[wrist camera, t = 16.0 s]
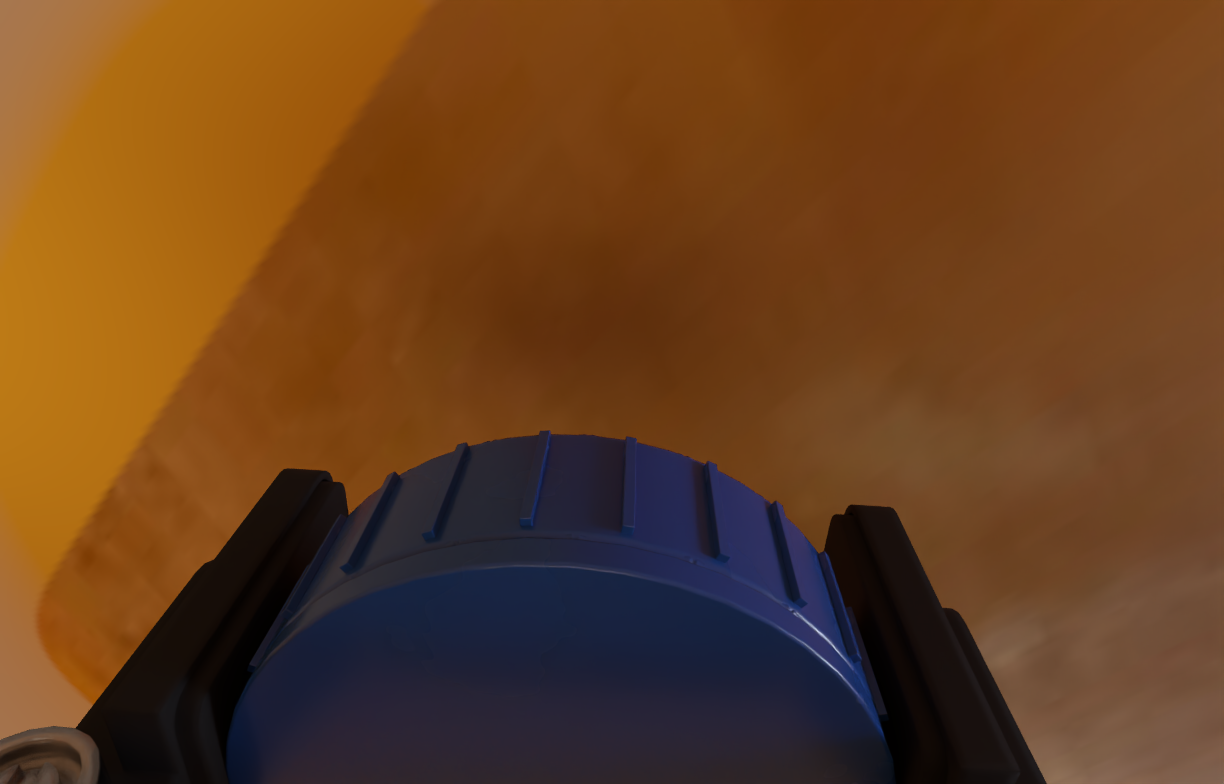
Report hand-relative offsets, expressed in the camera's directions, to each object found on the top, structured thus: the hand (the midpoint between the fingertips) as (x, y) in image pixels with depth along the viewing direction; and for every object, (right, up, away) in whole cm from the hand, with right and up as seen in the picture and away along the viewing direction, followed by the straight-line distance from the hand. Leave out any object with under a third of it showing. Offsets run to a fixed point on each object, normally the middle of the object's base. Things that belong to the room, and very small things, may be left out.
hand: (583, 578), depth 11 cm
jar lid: (0, -1, -3) cm, 3 cm away
